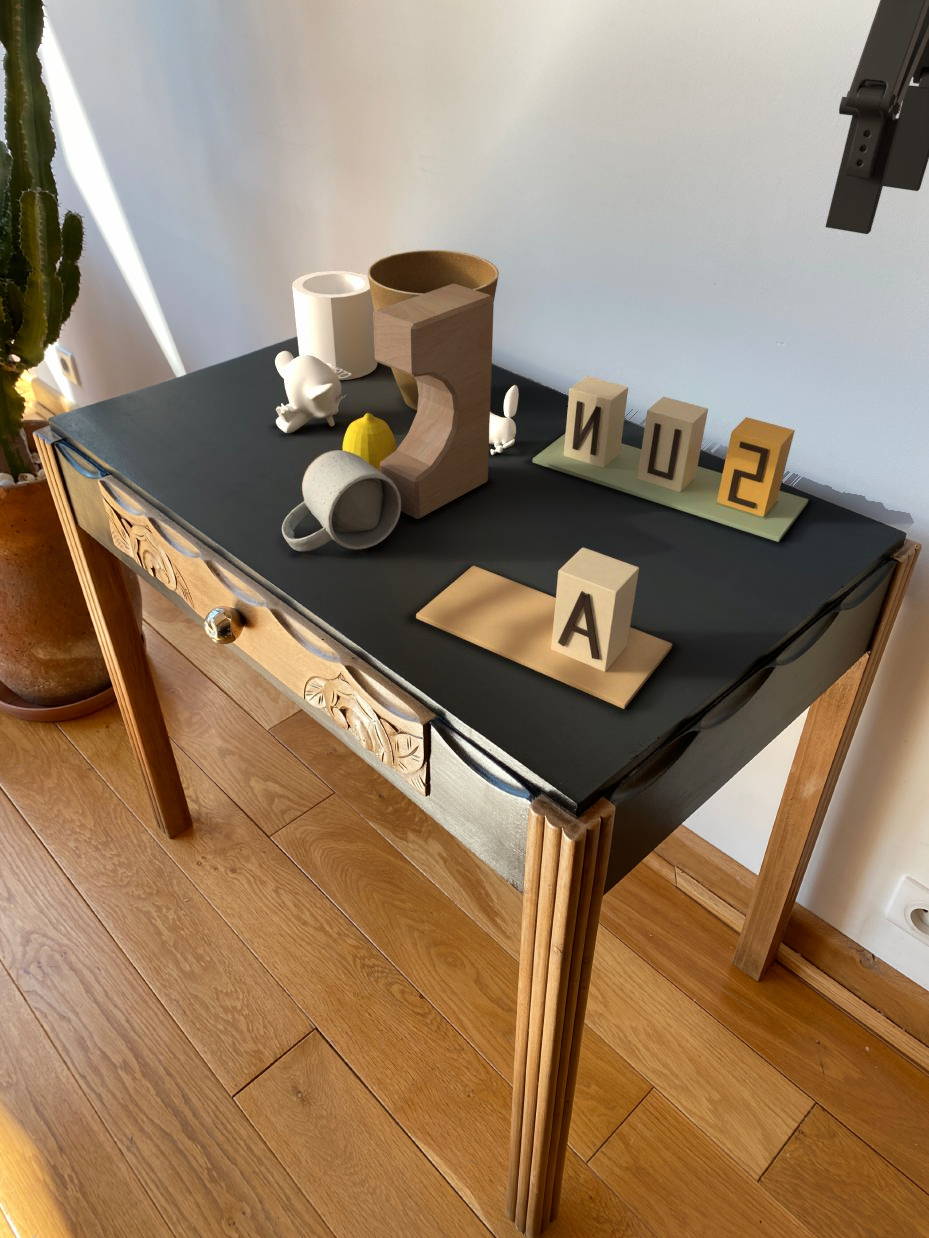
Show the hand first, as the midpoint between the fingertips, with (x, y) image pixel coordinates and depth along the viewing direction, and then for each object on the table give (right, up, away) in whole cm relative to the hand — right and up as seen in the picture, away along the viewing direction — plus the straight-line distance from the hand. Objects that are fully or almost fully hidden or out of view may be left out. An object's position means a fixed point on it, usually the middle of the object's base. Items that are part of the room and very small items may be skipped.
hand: (875, 207), depth 64 cm
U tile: (-7, -14, +35) cm, 38 cm away
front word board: (-22, -30, +14) cm, 40 cm away
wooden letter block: (-14, -10, +39) cm, 42 cm away
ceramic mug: (-41, -21, +26) cm, 53 cm away
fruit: (-39, -14, +35) cm, 54 cm away
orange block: (0, -17, +31) cm, 35 cm away
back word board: (-7, -14, +35) cm, 38 cm away
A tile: (-18, -31, +12) cm, 38 cm away
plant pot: (-32, -2, +50) cm, 60 cm away
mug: (-45, +6, +60) cm, 75 cm away
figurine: (-46, -6, +45) cm, 65 cm away
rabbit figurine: (-25, -8, +42) cm, 50 cm away
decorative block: (-32, -16, +33) cm, 48 cm away
